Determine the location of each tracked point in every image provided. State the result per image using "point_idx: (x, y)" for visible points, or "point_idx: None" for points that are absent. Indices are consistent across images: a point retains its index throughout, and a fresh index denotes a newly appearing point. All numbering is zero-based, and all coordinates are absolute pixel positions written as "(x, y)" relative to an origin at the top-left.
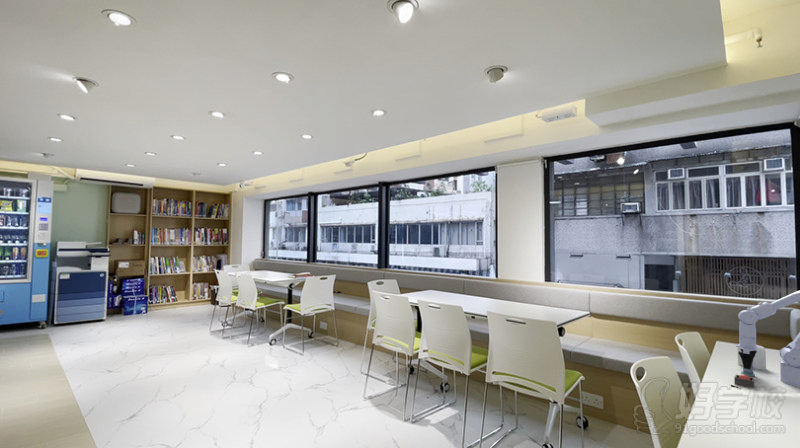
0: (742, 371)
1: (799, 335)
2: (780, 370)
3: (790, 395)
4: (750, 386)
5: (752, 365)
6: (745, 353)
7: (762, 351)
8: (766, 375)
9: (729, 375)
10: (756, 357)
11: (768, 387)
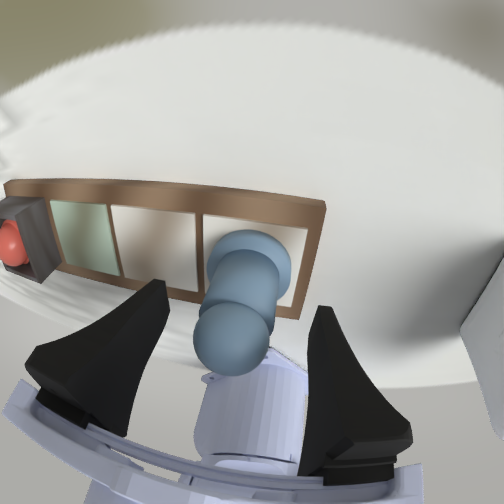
0: (264, 246)
1: None
2: (258, 416)
3: None
4: None
5: (490, 310)
6: (48, 394)
7: (493, 423)
8: (401, 333)
9: (209, 145)
10: (499, 367)
11: None
